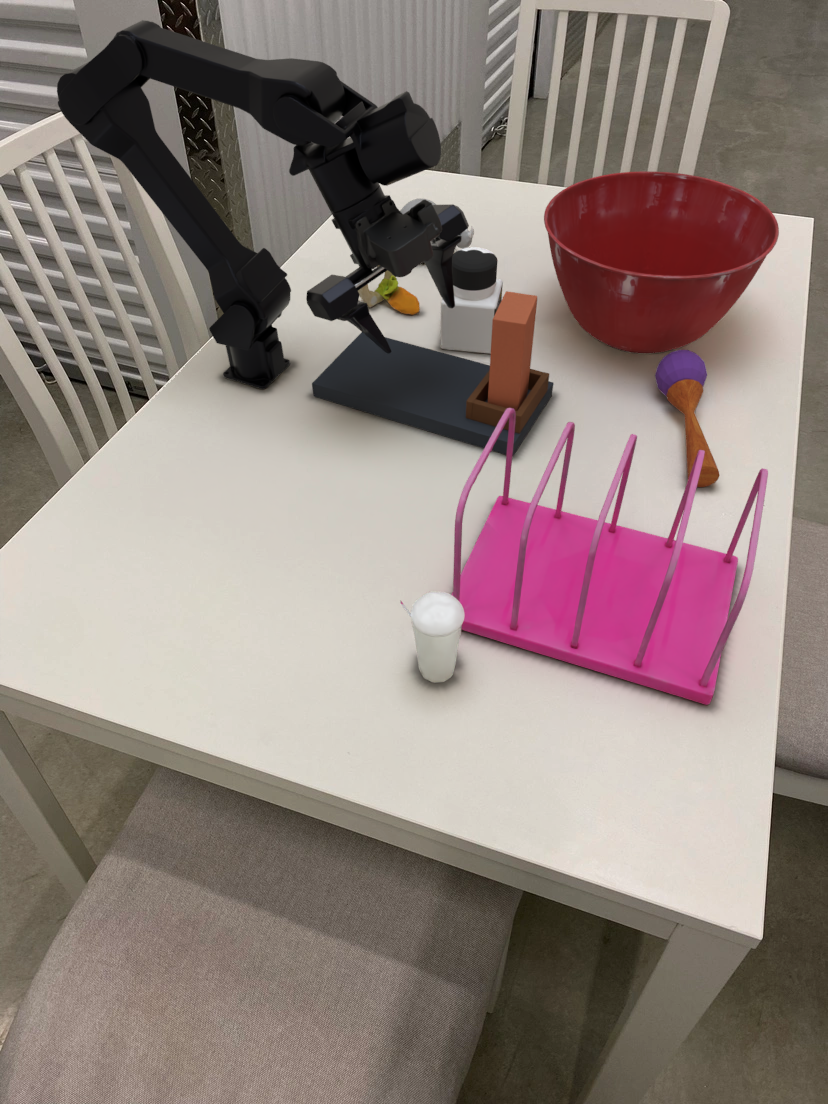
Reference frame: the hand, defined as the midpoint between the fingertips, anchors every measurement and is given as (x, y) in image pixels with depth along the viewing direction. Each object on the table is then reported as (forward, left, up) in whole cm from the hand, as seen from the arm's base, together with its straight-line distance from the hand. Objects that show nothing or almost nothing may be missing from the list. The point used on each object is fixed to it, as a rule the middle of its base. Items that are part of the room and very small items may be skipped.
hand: (420, 329), depth 93 cm
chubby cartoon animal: (-15, +35, -11) cm, 40 cm away
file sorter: (+28, -19, -11) cm, 36 cm away
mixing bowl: (+19, +29, -11) cm, 36 cm away
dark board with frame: (0, +3, -11) cm, 12 cm away
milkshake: (+18, -34, -11) cm, 40 cm away
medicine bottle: (-1, +17, -11) cm, 20 cm away
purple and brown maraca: (+30, +10, -11) cm, 34 cm away
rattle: (-15, +19, -11) cm, 27 cm away
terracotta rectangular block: (+10, +3, -9) cm, 14 cm away
